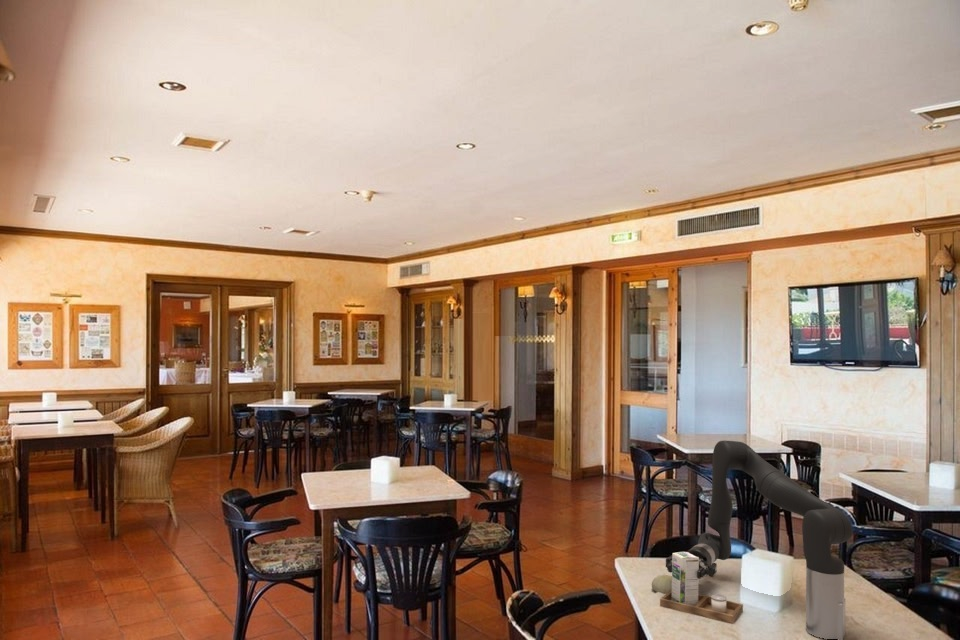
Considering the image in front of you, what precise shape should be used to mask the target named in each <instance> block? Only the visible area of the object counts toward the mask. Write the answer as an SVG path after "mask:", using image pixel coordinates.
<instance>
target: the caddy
mask: <svg viewBox="0 0 960 640" xmlns="http://www.w3.org/2000/svg"><path fill="white" fill-rule="evenodd" d="M671 599H672V589H671V590H670V591H669V592H668V593H667V594H666V593H664V595H663V596H661V598H660V599H659V607H662V608H666V609H671V610H674V611H678V612H681V613H686V614H691V615H694V616H699V617H703V618H705V619H706V618H707V619H711V620H715V621H719V622H723V623H727V624H731V625H734V624H735V622H736V621H737V620H738V619H739V617H740V616H741V614H742V613H743V611H744V604H742V603H739V602H735V601H731V600H726V614H725V613H721V612H717V611H712V610H711V599H712V598H711V596H708V595H705V594H700V593H698V603H697V604H696V605H695V606H691V605H687V604H683V603H679V602H675V601H671Z"/></svg>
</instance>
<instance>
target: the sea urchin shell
mask: <svg viewBox="0 0 960 640" xmlns="http://www.w3.org/2000/svg"><path fill="white" fill-rule="evenodd" d="M651 589H653V591H654V592H655V593H658V592H659V593H660V594H667V593H668V592H669V591H670V590H671V589H672V575H668V574H662V575H657V576H656V577H654V578H653V579H652V581H651Z"/></svg>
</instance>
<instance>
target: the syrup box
mask: <svg viewBox="0 0 960 640" xmlns="http://www.w3.org/2000/svg"><path fill="white" fill-rule="evenodd" d="M698 570H699V557H696V556H694V555H692V554H690V553H688V552H687V551H678V552H672V572H671V576H672V599H671V601H675V602H679V603H683V604H687V605H691V606H695V605H696V604H697V603H698V594H699V578H697V571H698Z"/></svg>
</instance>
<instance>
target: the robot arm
mask: <svg viewBox="0 0 960 640" xmlns="http://www.w3.org/2000/svg"><path fill="white" fill-rule="evenodd" d="M729 470H738V471H742V472H744V473H746V474H748V475H749V476H751V477H752V478H753V480H754V484H755V488H756V490H757V491H758V493H759V494H761V496H763V498H765V499H766V500H768V501H769V502H770V503H771V504H772V505H775V506H776V507H778V508H780V509H783V510H785V511H788V512H790V513H793V514H796V515H798V516H802V517H803V518H802V523H801V529H802V530H801V531H802V549H803V550H802V551H803V556H804V559H805V563H806V564H805V565H806V568H805V569H806V570H805V571H806V572H805V577H806V578H805V631H806V632H807V633H808V634H809V635H811V634H812V635H811V636H813V635H814V636H813V637H816V638H819V637H820V639H822V638H824V640H827V639H839V640H844V639H843V638H845V636H844V635H846V598H845V562H844V561H843V560H842V559H841V558H839V557H838V556H835V555H832V553H831V545H836V544H837V545H838V544H843V543H846V542H848V541H849V540H850V539H851V538H852V536H853V533H854V530H853V525H852V523H851V520H850V519H849V517H848V516H847V515H846V514H845V513H844V512H843V511H841V509H838V508H836V507H835V506H833V505H831V504H829V503H827V502H826V501H824V500H822V499H821V498H819V497H818V496H815V495H814V494H812V493H811V492H810V491H809V490H807V489H806V488H804V487H802V485H800V484H798V483H797V482H796V481H795V480H793V479H792V478H791V477H789V476H788V475H787V474H785V473H783V472H782V471H780V470H779V469H778V468H777V467H776V466H775V467H774V466H773V465H772V464H770V463H769V462H767V461H766V460H764V459H763V458H762V456H760V455H759V453H757V452H756V451H755V450H754V449H753V448H752V447H751V446H750V445H748V444H746V443H744V442H742V441H738V440H735V441H734V440H719V441H718V442H717V443H716V444H715V445H714V447H713V453H712V470H711V471H712V476H711V478H712V479H711V481H712V482H711V485H712V486H711V487H712V488H711V500H710V507H709V511H708V517H707V526H708V527H709V528H710V529H712V530H714V531H715V532H717V533H718V535H719V536H718V535H717V534H713V533H710V532H703V533H701V534H700V536H699V538H698V540H697V544H696V545H694V546H692V547H691V548H690V549H688V550H687V551H686V552H688V553H690V554H692V555H694V556H696V557H699V570H698V571H697V578H699V579H700V580H701V578H704V577H707V576H708V577H710V578H713V577H714V576H715V575H716V574H717V572H718V571H717V570H718V569H717V567H718V566H717V565H718V564H717V562H716V561H717V560H720V561H725V560H727V559H728V558H729V557H730V556H731V553H732V542H731V541H732V540H731V534H730V531H731V529H730V526H731V521H732V516H733V510H734V508H733V500H732V496H731V494H730V491H729V488H728V481H727V479H728V478H727V477H728V472H729ZM665 568H667V569H666V570H667V571H668V573H672V555H669V556H668V557H666V558H665Z"/></svg>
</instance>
